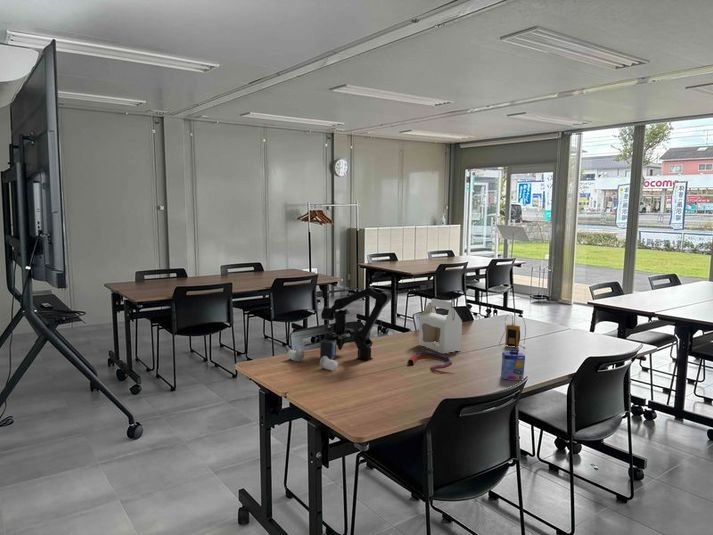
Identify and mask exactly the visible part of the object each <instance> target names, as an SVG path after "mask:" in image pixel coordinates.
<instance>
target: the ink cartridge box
mask: <svg viewBox="0 0 713 535" xmlns="http://www.w3.org/2000/svg"><path fill="white" fill-rule="evenodd" d="M525 361H526V355H525V354H524V353H523V352H520V351H519V349H511V350H510V351H502V353H501V371H500V372H501V373H500V377H501V379H502V378H503V379H508V380H507V381H523V380H524V376H525V375H524V374H525V373H524V372H525V364H526V362H525ZM503 379H502V380H503ZM522 379H523V380H522Z"/></svg>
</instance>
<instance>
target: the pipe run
mask: <svg viewBox="0 0 713 535" xmlns="http://www.w3.org/2000/svg"><path fill="white" fill-rule="evenodd" d="M286 358H287V360H290V359H291V361H295V362H298V363H300V362H301V361H303V360H304V358H305V352H304V350H302V349H298V350H294V349H289V350H288V351H287V353H286ZM299 361H300V362H299ZM319 367H320V368H321V369H325V370H328V371H332V372H335V371H336V370H337V368H338V361H337V360H335V359H333V360H330V359H329V358H328V357H327V356H323V357H322V358H321V359H320V358H319ZM334 370H335V371H334Z"/></svg>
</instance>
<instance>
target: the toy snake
mask: <svg viewBox="0 0 713 535" xmlns="http://www.w3.org/2000/svg"><path fill="white" fill-rule="evenodd" d="M424 357H427V358H430V357H432V358H431V359H435V358H436V359H435V360H438V359H439V361H442V360H443V361H442V362H444V363H443V364H435V365H432V366H430V368H429V369H430V370H431V371H432V372H434V373H440V374H452V375H453V374H454V375H456V373H454V372H450V371H449V372H448V371H442V370H439V369H445V368H448V367H450V366H451V365H452V364H453V362H452V360H451V359H450V357H449V356H446V355H445V356H444V355H442V354H441V353H439V352H435V351H434V352H432V351H428V350H423V351H420V352H417V353H415V354H414V355H412V356H411V357H410V358H409V359H408V361H407V365H411V362H413V365H414V364H415V363H416V362H417V361H418V360H420V359H424Z"/></svg>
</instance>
